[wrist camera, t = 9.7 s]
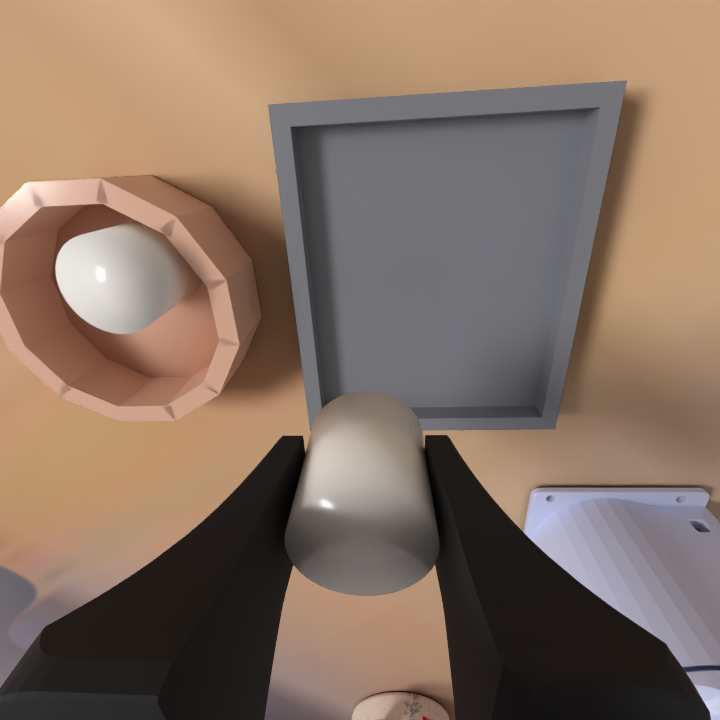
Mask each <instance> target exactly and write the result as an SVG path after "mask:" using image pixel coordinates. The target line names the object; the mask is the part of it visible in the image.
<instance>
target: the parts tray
mask: <svg viewBox="0 0 720 720" xmlns="http://www.w3.org/2000/svg"><path fill="white" fill-rule="evenodd" d="M626 83H627V81H614V82H599V83H584V84H569V85H554V86H540V87H525V88H510V89H495V90H480V91H465V92H450V93H435V94H420V95H405V96H391V97H376V98H361V99H346V100H331V101H316V102H301V103H286V104H271V105H268V108H269V116H270V124H271V131H272V139H273V147H274V154H275V162H276V170H277V177H278V185H279V193H280V201H281V208H282V216H283V224H284V231H285V239H286V247H287V255H288V262H289V270H290V278H291V285H292V293H293V301H294V309H295V316H296V324H297V332H298V339H299V347H300V355H301V362H302V370H303V378H304V386H305V393H306V401H307V409H308V416H309V424H310V431H311V430H312V427H313V423H314V421H315V418H316V416H317V415H318V413H319V412H320V411H321V410H322V409H323V407H324V406H326V405H327V404H328V403H329V402H331V401H332V400H334V399H336V398H338V397H340V396H342V395H346V394H349V393H354V392H363V391H368V392H378V393H382V394H386V395H389V396H392V397H394V398H396V399H398V400H400V401H401V402H403V403H404V404H405V405H407V406H408V407H409V408H410V409H411V410H412V411H413V412H414V414H415V415H416V416H417V418H418V420H419V421H420V424H421V427H422V430H514V429H555V427H556V422H557V417H558V412H559V408H560V403H561V398H562V393H563V388H564V383H565V379H566V374H567V369H568V364H569V359H570V354H571V349H572V345H573V340H574V335H575V330H576V325H577V320H578V316H579V311H580V306H581V301H582V296H583V291H584V287H585V282H586V277H587V272H588V267H589V262H590V258H591V253H592V248H593V243H594V238H595V233H596V229H597V224H598V219H599V214H600V209H601V204H602V200H603V195H604V190H605V185H606V180H607V175H608V170H609V166H610V161H611V156H612V151H613V146H614V141H615V137H616V132H617V127H618V122H619V117H620V112H621V108H622V103H623V98H624V93H625V88H626Z"/></svg>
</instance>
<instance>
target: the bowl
mask: <svg viewBox="0 0 720 720" xmlns="http://www.w3.org/2000/svg"><path fill="white" fill-rule="evenodd" d="M132 221H138V222H140V223H142V224H144V225H146V226H148V227H150V228H153V229H155V230H157V231H159V232H161V233H163V234H165V236H166V237H167V238H168V239H169V240H170V242H171V243H172V244H173V245H174V247H175V248H176V249H177V250H178V251H179V253H180V254H181V255H182V256H183V258H184V259H185V260H186V261H187V263H188V264H189V265H190V266H191V267H192V269H193V270H194V271H195V272H196V274H197V275H198V276H199V277H200V278H201V280H202V283H201V285H200V286H199V288H198V289H197V290H196V291H195V292H194V293H193V294H191V295H190V296H189V297H187V298H186V299H184V300H183V301H182V302H180V303H179V304H178V305H176V306H175V307H173V308H172V309H171V310H169V311H168V312H167V313H165V314H164V315H162V316H161V317H160V318H158V319H157V320H156V321H154V322H153V323H151V324H150V325H149V326H147V327H146V328H144V329H143V330H141V331H138V332H135V333H130V334H116V333H110V332H107V331H104V330H101V329H99V328H97V327H95V326H93V325H91V324H89V323H88V322H86V321H85V320H84V319H82V318H81V317H80V316H79V315H78V314H77V313H76V312H75V311H74V310H73V309H72V308H71V307H70V306H69V304H68V303H67V301H66V300H65V298H64V297H63V295H62V293H61V291H60V288H59V286H58V283H57V279H56V270H55V266H56V260H57V256H58V254H59V252H60V249H61V248H62V247H63V245H64V244H65V243H66V242H68V241H69V240H70V239H72V238H74V237H76V236H79V235H82V234H86V233H90V232H94V231H98V230H101V229H105V228H109V227H113V226H117V225H121V224H125V223H128V222H132ZM261 318H262V314H261V308H260V303H259V297H258V291H257V285H256V279H255V273H254V267H253V261H252V259H251V258H250V257H249V255H248V254H247V253H246V251H245V250H244V249H243V247H242V246H241V245H240V243H239V242H238V241H237V239H236V238H235V237H234V235H233V234H232V233H231V231H230V230H229V229H228V227H227V226H226V225H225V223H224V222H223V221H222V219H221V218H220V217H219V215H218V214H217V213H216V211H215V210H214V209H213V207H212V206H210V205H208V204H206V203H204V202H202V201H200V200H198V199H196V198H194V197H192V196H190V195H188V194H186V193H184V192H183V191H181V190H179V189H177V188H175V187H173V186H171V185H169V184H167V183H165V182H163V181H161V180H159V179H157V178H156V177H154V176H152V175H143V176H126V177H109V178H91V179H90V178H89V179H72V180H55V181H38V182H26V183H25V184H24V185H23V186H22V187H21V188H20V189H19V190H18V191H17V192H16V193H15V194H14V195H13V196H12V197H11V198H10V199H9V200H8V201H7V202H6V203H5V204H4V205H3V206H2V207H1V208H0V334H1V336H2V338H3V340H4V342H5V344H6V346H7V348H8V350H9V351H10V352H11V353H12V354H13V355H14V356H15V357H16V358H17V359H19V360H20V361H21V362H22V363H23V364H24V365H25V366H26V367H27V368H28V369H30V370H31V371H32V372H33V373H34V374H35V375H36V376H37V377H38V378H39V379H41V380H42V381H43V382H44V383H45V384H46V385H47V386H48V387H49V388H51V389H52V390H53V391H54V392H55V393H56V394H57V395H58V396H59V397H61V398H64V399H66V400H68V401H71V402H73V403H76V404H78V405H81V406H83V407H86V408H88V409H90V410H93V411H95V412H98V413H100V414H103V415H105V416H108V417H110V418H112V419H115V420H117V421H176V420H178V419H179V418H181V417H183V416H184V415H186V414H188V413H189V412H191V411H193V410H194V409H196V408H198V407H199V406H201V405H203V404H204V403H206V402H208V401H209V400H211V399H213V398H214V397H216V396H218V395H219V394H220V393H221V392H222V390H223V389H224V387H225V386H226V385H227V383H228V382H229V380H230V379H231V377H232V376H233V375H234V373H235V372H236V370H237V369H238V367H239V366H240V365H241V363H242V362H243V360H244V358H245V355H246V353H247V351H248V348H249V346H250V344H251V341H252V339H253V336H254V334H255V332H256V329H257V327H258V325H259V322H260V320H261Z"/></svg>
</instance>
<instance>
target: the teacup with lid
mask: <svg viewBox="0 0 720 720" xmlns="http://www.w3.org/2000/svg"><path fill="white" fill-rule="evenodd" d="M352 720H450V719H449V716H448V714H447V712H446V710H445V709H444V708H443V707H442V706H441V705H440V704H438V703H437V702H436V701H434V700H432V699H430V698H428V697H425V696H422V695H418V694H414V693H407V692H387V693H381V694H376V695H373V696H370V697H368V698H366V699H364V700H363V701H361V702H360V703H359V704H358V705H357V706H356V708H355V709H354V711H353V715H352Z"/></svg>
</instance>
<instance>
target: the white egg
mask: <svg viewBox="0 0 720 720" xmlns="http://www.w3.org/2000/svg"><path fill="white" fill-rule="evenodd" d="M55 270H56V279H57V283H58V286H59V288H60V291H61V293H62V295H63V297H64V298H65V300H66V301H67V303H68V304H69V306H70V307H71V308H72V309H73V310H74V311H75V312H76V313H77V314H78V315H79V316H80V317H81V318H82V319H84V320H85V321H86V322H88V323H89V324H91V325H93V326H95V327H97V328H99V329H101V330H104V331H107V332H110V333H116V334H130V333H135V332H138V331H141V330H143V329H144V328H146V327H147V326H149V325H150V324H151V323H153V322H154V321H156V320H157V319H158V318H160V317H161V316H162V315H164V314H165V313H167V312H168V311H169V310H171V309H172V308H173V307H175V306H176V305H178V304H179V303H180V302H182V301H183V300H184V299H186V298H187V297H189V296H190V295H191V294H193V293H194V292H195V291H196V290H197V289H198V288H199V286H200V285H201V283H202V280H201V278H200V277H199V276H198V275H197V274H196V272H195V271H194V270H193V269H192V267H191V266H190V265H189V264H188V263H187V261H186V260H185V259H184V258H183V256H182V255H181V254H180V253H179V251H178V250H177V249H176V248H175V247H174V245H173V244H172V243H171V242H170V240H169V239H168V238H167V237H166V236H165V234H163V233H161V232H159V231H157V230H155V229H153V228H150V227H148V226H146V225H144V224H142V223H140V222H138V221H132V222H128V223H125V224H121V225H117V226H113V227H109V228H105V229H101V230H98V231H94V232H90V233H86V234H82V235H79V236H76V237H74V238H72V239H70V240H69V241H68V242H66V243H65V244H64V245H63V247H62V248H61V249H60V252H59V254H58V256H57V260H56V266H55Z"/></svg>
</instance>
